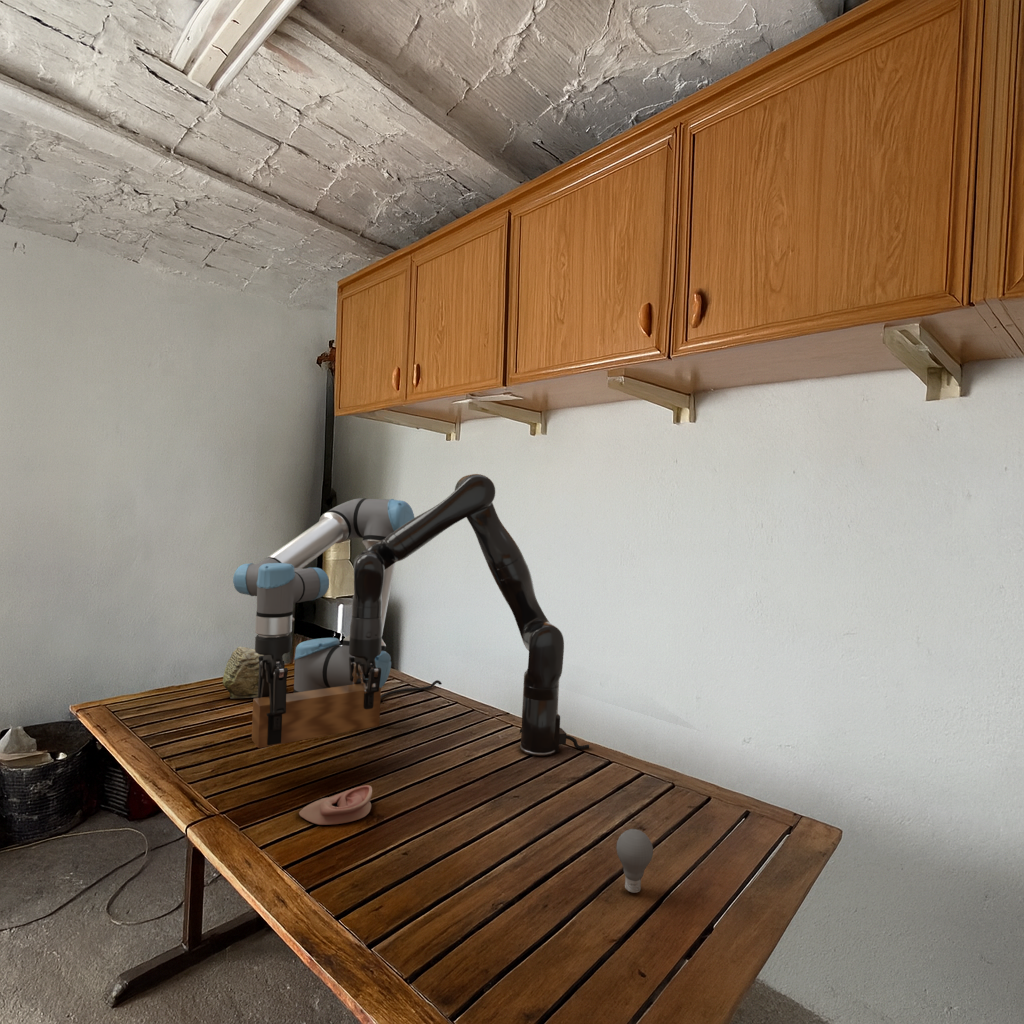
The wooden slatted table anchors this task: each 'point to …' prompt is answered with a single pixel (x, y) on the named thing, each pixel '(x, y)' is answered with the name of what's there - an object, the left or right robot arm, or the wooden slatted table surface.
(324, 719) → the bar
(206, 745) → the wooden slatted table surface
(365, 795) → the anatomical model
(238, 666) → the fossil
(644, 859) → the light bulb
